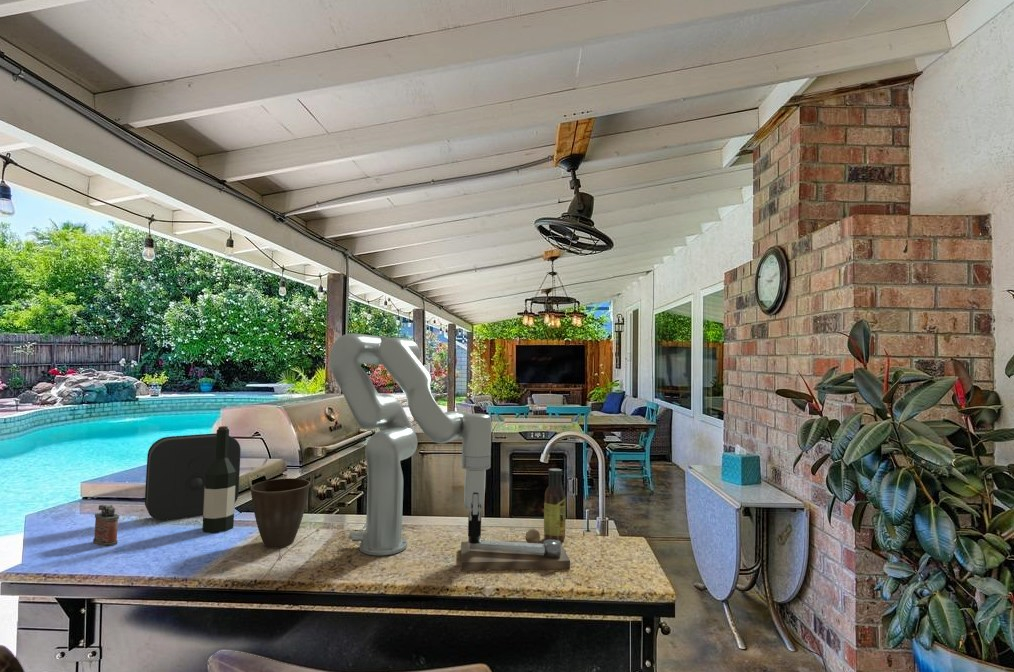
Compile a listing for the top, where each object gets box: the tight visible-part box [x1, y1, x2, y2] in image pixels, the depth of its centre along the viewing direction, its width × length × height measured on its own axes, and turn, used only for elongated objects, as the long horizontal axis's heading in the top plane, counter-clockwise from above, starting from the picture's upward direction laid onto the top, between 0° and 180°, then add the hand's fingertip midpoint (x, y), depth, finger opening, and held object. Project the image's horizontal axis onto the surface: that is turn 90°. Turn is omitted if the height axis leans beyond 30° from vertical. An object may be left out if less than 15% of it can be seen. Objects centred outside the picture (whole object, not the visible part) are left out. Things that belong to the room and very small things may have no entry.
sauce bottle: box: [543, 467, 567, 542], centre depth 145 cm, size 7×6×20 cm
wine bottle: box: [201, 425, 236, 534], centre depth 148 cm, size 8×8×30 cm
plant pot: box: [250, 477, 311, 549], centre depth 137 cm, size 15×15×16 cm
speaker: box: [144, 432, 242, 522], centre depth 161 cm, size 25×9×25 cm, turn 131°
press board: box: [460, 528, 571, 572], centre depth 129 cm, size 27×14×6 cm, turn 95°
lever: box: [467, 510, 562, 558], centre depth 127 cm, size 24×4×10 cm, turn 84°
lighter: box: [92, 504, 120, 548], centre depth 135 cm, size 8×3×10 cm, turn 65°
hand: (474, 532), depth 128 cm, fingers closed on lever, 3 cm apart
